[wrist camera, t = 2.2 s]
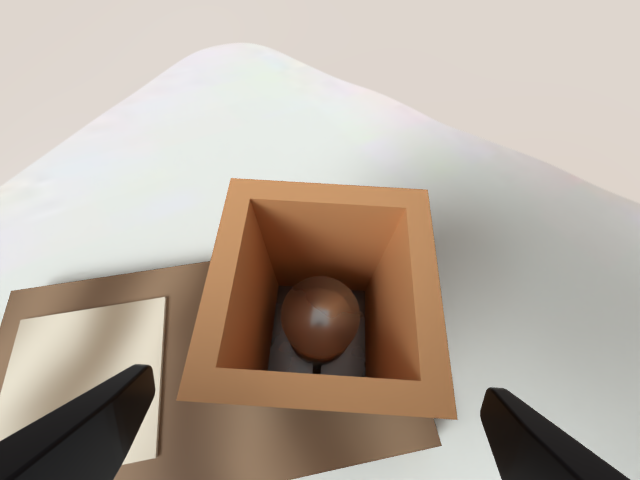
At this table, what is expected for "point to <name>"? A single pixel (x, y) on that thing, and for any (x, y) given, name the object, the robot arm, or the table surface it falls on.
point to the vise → (319, 329)
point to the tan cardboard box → (330, 261)
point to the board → (172, 385)
